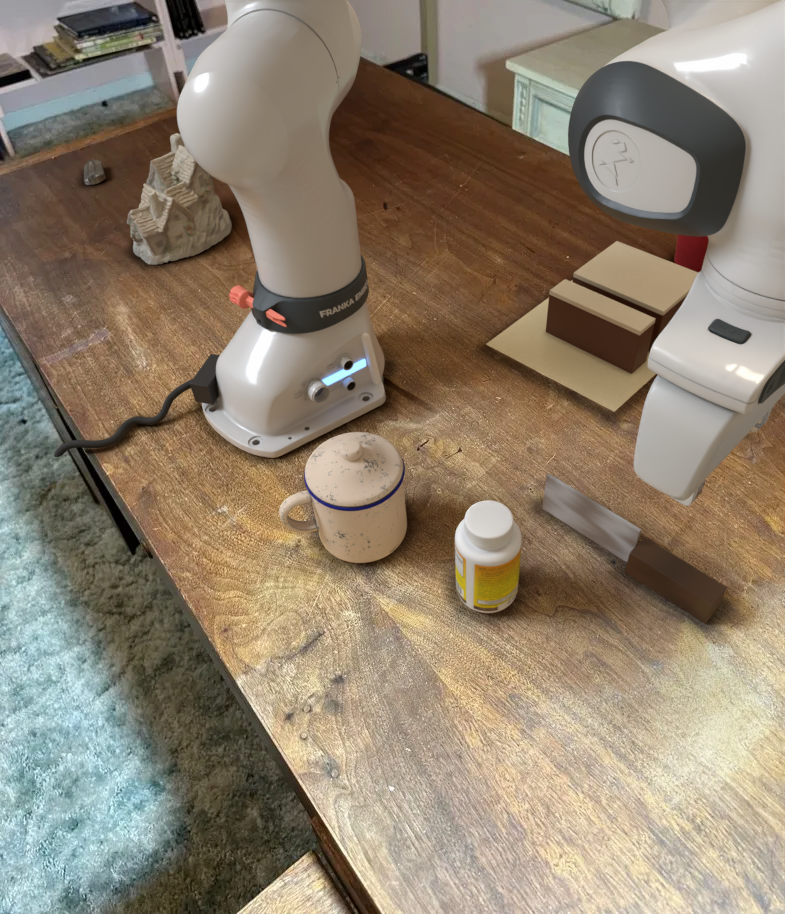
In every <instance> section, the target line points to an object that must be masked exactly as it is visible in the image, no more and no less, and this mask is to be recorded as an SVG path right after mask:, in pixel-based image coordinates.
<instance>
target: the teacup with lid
mask: <svg viewBox="0 0 785 914" xmlns="http://www.w3.org/2000/svg"><path fill="white" fill-rule="evenodd" d="M405 474H406V465H405V461H404V457H403V455H402V454H401V452H400V451H399V450H398V447H396V445H394V444H393V443H392V442H391V441H390V440H388V439H387V438H385V437H383V436H381V435H378V434H375V433H370V432H366V431H365V432H364V431H353V432H345V433H342V434H338V435H335V436H333V437H330V438H328V439H326V440H325V441H323V442H321V444H319V445H318V446H316V448H315V449H314V451H313V452H311V454H310V456H309V457H308V459H307V461H306V464H305V467H304V473H303V480H304V485H305V488H306V490H302V491H299V492H296V493H293V494H290V495H289V496H287V497H286V498H285V499H284V500H283V501H282V502H281V504H280V506H279V509H278V514H279V518H280V521H281V523H282V524H283V526H284V527H285V528H286V529H288V530H289V531H291V532H293V533H299V534H308V533H313V532H316V531H318V534H319V539H320V542H321V543H322V545H323V547H324V548H325V549H326V550H327V552H328V553H330V554H331V555H332V556H334V557H335V558H337V559H339V560H341V561H345V562H348V563H354V564H367V563H372V562H376V561H379V560H381V559H383V558H386V557H387V556H389V555H391V554H392V553H393V552H394V551H396V549H398V547H399V546H400V545H401V543H402V542H403V541H404V539H405V537H406V534H407V530H408V529H407V528H408V519H407V518H408V517H407V508H406V507H407V506H406V496H405V483H404V478H405ZM309 503H311V504H312V509H313V512H314V518H311V519H307V520H297V519H294V518H293V517H290V516H289V514H290V513H291V511H292V510H294V509H295V508H297V507H299V506H302V505H305V504H309Z"/></svg>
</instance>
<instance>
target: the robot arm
mask: <svg viewBox="0 0 785 914" xmlns="http://www.w3.org/2000/svg"><path fill="white" fill-rule="evenodd" d="M223 2H224V5H225V9H226V14H227V15H226V16H227V27H226V30H225V31H224V32H223V33H221V34H220V35H219V36H217V38H216V39H215V40H214V41H213V42H211V44H209V45H208V46H207V47H206V48H205V49H204V50H203V51H202V52H201V53H200V54H199V56H198V57H197V59H196V61H195V63H194V64H193V66H192V68H191V71H190V72H189V74H188V76H187V78H186V80H185V83H184V84H183V88H182V89H181V92H180V95H179V98H178V101H177V106H176V121H177V127H178V131H179V134H180V135H181V137H182V140H183V142H184V144H185V146H186V148H187V150H188V151H189V153H190V154H191V156H192V157H193V158H194V160H195V161H196V162H197V163H198V164H199V165H200V166H201V167H202V168H203V169H204V170H205V171H206V172H207V173H209V174H210V175H212V176H213V178H214V179H216V180H218V181H220V182H222V183H224V184H227V186H228V187H229V188H230V190H231V192H232V194H233V195H234V197H235V199H236V202H237V203H238V204H239V207H240V210H241V212H242V215H243V218H244V222H245V224H246V228H247V232H248V235H249V240H250V245H251V248H252V252H253V257H254V261H255V265H256V272H255V276H254V283H253V289H252V291H251V290H247V289H246V288H245V287H244V286H242V285H241V284H237V285H234V286H233V287H232V288H231V289H230V291H229V293H228V296H229V297H228V298H229V300H230V302H231V303H232V304H234V305H237V306H238V307H239V308H241V309H243V310H246V309H249V308H250V311H249V313H248V314H247V315H246V317H245V319H244V320H243V321H242V322H241V325H240V326H239V327H238V329H237V330H236V332H235V334H234V335H233V336H232V338H231V339H230V341H229V342H228V344H227V345H226V346H225V348H224V349H223V351H221V353H220V354H215V353H210V355H209V356H208V357H207V359H206V360H205V361H204V362H203V364H202V365H201V367H200V368H199V369H198V371H197V372H196V374H195V375H194V376H193V378H191V379H189V380H187V381H185V382H183V383H181V384H180V385H178V386H177V387H176V388H174V389H173V390H172V391H171V392H170V393H169V394H168V395H167V396H166V398H165V399H164V402H163V404H162V406H161V409H160V410H159V412H158V413H157V414H156V415H154V416H150V417H149V416H141V415H140V416H139V415H138V416H132V417H130V418H127V419H126V420H125V421H124V422H122V423H121V424H120V426H119V427H118V429H117V430H116V432H115V433H114V434H113V435H111V436H109V437H107V438H104V439H98V440H95V439H93V440H92V439H91V440H90V439H73V440H69V441H68V440H67V441H66V442H64V443H62V444H61V445H59V447H57V448H56V450H55V451H54V454H53V457H54V458H60V457H62V456H64V454H66V452H67V451H69V450H72V449H76V448H77V449H80V448H81V449H102V448H107V447H110V446H112V445H115V444H116V443H118V442H119V441H121V439H122V438H123V437H124V436H125V434H126V433H127V431H128V430H129V429H130V428H131V427H133V426H135V425H145V426H153V425H157V424H159V423H161V422H162V421H163V420H164V419H165V418H166V417H167V415H168V414H169V411H170V409H171V406H172V404H173V402H174V401H176V399H177V398H178V397H179V396H180V395H182V394H183V393H185V392H186V391H188V390H189V389H191V392H192V396H193V398H194V402H196V403H201V407H202V412H203V415H204V417H205V419H206V421H207V422H208V424H209V425H210V427H211V428H212V429H213V430H214V431H215V432H216V433H217V434H219V435H220V436H221V437H222V438H223V439H224V440H226V441H227V442H228V443H230V444H231V445H233V446H234V447H237V448H238V449H239V450H242V451H244V452H246V453H248V454H251V455H254V456H257V457H262V458H268V459H269V458H271V459H276V458H279V457H281V456H283V455H286V454H287V453H289V452H292V451H294V450H296V449H298V448H299V447H301V446H304V445H305V444H308V443H309V442H312V441H313V440H315V439H318V438H319V437H322V436H323V435H324V434H327V433H329V432H331V431H333V430H335V429H337V428H339V427H341V426H343V425H344V424H347V423H349V422H350V421H353V420H355V419H357V418H359V417H361V416H362V415H364V414H367V413H368V412H370V411H372V410H374V409H376V408H378V407H381V406H382V405H384V404H385V402H386V400H387V395H386V389H385V386H384V380H385V376H384V375H383V374H384V370H385V366H386V365H385V364H386V363H385V354H384V352H383V350H382V347H381V346H380V343H379V340H378V337H377V335H376V332H375V329H374V324H373V320H372V317H371V313H370V308H369V304H368V297H369V293H370V290H369V289H370V287H369V279H368V271H367V265H366V261H365V260H366V259H365V258H364V256H363V254H362V253H361V246H360V234H359V227H358V220H357V219H358V216H357V210H356V200H355V199H356V198H355V196H354V193H353V191H352V188H351V187H350V186H349V184H347V183H346V182H345V181H344V180H343V179H342V178H340V175H339V173H338V170H337V167H336V165H335V163H334V160H333V157H332V153H331V147H330V128H331V122H332V117H333V116H334V113H335V112H336V111H337V109H338V108H339V106H340V105H341V104H342V102H343V101H344V99H345V98H346V96H347V95H348V94H349V92H350V90H351V89H352V87H353V85H354V82H355V80H356V77H357V73H358V70H359V66H360V60H361V55H362V49H363V34H362V27H361V23H360V20H359V18H358V15H357V13H356V11H355V9H354V8H353V6H352V4H351V3H350V1H349V0H223ZM661 2H662V3H663V6H664V8H665V10H666V13H667V17H668V26H669V28H668V29H667V30H665V31H662V32H659V33H657V34H655V35H653V36H651V37H649V38H647V39H645V40H644V41H642V42H640V43H639V44H637V45H635V46H633V47H631V48H629V49H628V50H626V51H624V52H622V53H621V54H619V55H618V56H617V55H616V56H615V57H614V58H613V59H612V60H610V61H608V62H607V63H606V64H605V65H603V66H602V67H600V68H599V69H597V70H595V72H593V73H592V74H591V75H590V76H589V77H588V78H587V79H586V81H585V82H584V83H583V85H582V86H581V87H580V88H579V90H578V91H577V93H576V97H575V99H574V101H573V104H572V107H571V112H570V115H569V119H568V128H567V146H568V155H569V161H570V164H571V167H572V171H573V174H574V176H575V178H576V180H577V182H578V185H579V187H580V188H581V190H582V191H583V193H584V194H585V195H586V197H587V198H588V200H590V201H591V203H592V204H593V205H594V206H596V207H597V208H598V209H600V210H601V212H603V213H604V214H606V215H607V216H609V217H611V218H613V219H615V220H617V221H619V222H623V223H625V224H628V225H632V226H636V227H640V228H644V229H648V230H652V231H658V232H662V233H666V234H672V235H677V236H678V235H685V236H708V239H709V242H708V247H707V251H706V255H705V258H704V262H703V266H702V270H701V271H700V272H699V273H698V274H697V275H696V277H695V279H694V281H693V284H692V286H691V288H690V291H689V293H688V295H687V296H686V298H685V300H684V302H683V303H682V305H681V306H680V307H679V309H678V310H677V311H676V313H675V314H674V316H673V317H672V318H671V320H670V321H669V322H668V324H667V325H666V326H665V328H664V329H663V330H662V332H661V333H660V335H659V336H658V337H657V339H656V340H655V341H654V343H653V345H652V347H651V350H650V354H649V358H648V369H649V370H651V371H653V372H654V373H656V374H655V375H656V377H655V378H654V380H653V381H652V383H651V386H650V387H649V390H648V393H647V395H646V397H645V400H644V404H643V407H642V412H641V417H640V421H639V425H638V431H637V437H636V442H635V449H634V455H633V471H634V473H635V475H636V476H637V477H638V479H640V480H641V481H642V482H644V483H645V484H647V485H648V486H650V487H652V488H653V489H655V490H657V491H658V492H660V493H662V494H664V495H666V496H668V497H670V498H671V499H672V500H674V501H676V502H678V503H679V504H681V505H683V506H686V507H690V506H691V505H692V504H693V503H694V502H695V501H696V500H697V499H698V497H699V496H700V495H702V492H703V488H704V486H705V485H706V484H705V483H706V481H707V479H708V478H709V477H710V476H711V475H712V473H713V472H714V471H715V470H716V469H717V468H718V467H719V466H720V465H721V464H722V463H723V461H724V460H725V459H727V457H728V456H729V455H730V454H731V453H732V452H733V450H734V449H736V447H737V446H738V445H739V444H741V442H742V440H744V438H746V436H747V435H748V434H749V433H751V434H755V433H757V432H758V431H759V430H760V429H761V428H763V426H764V425H765V424H766V423H767V422H768V420H769V417H770V415H771V412H772V410H773V408H774V406H775V405H776V403H778V402H779V401H780V399H782V398H783V396H784V395H785V0H661Z"/></svg>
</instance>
